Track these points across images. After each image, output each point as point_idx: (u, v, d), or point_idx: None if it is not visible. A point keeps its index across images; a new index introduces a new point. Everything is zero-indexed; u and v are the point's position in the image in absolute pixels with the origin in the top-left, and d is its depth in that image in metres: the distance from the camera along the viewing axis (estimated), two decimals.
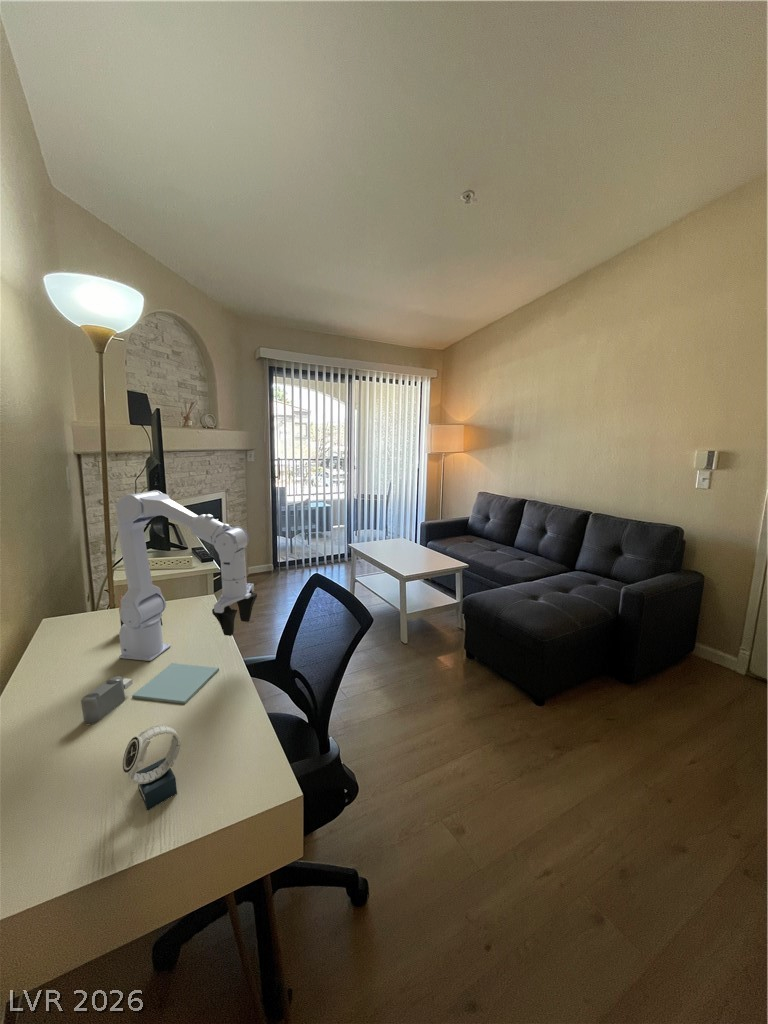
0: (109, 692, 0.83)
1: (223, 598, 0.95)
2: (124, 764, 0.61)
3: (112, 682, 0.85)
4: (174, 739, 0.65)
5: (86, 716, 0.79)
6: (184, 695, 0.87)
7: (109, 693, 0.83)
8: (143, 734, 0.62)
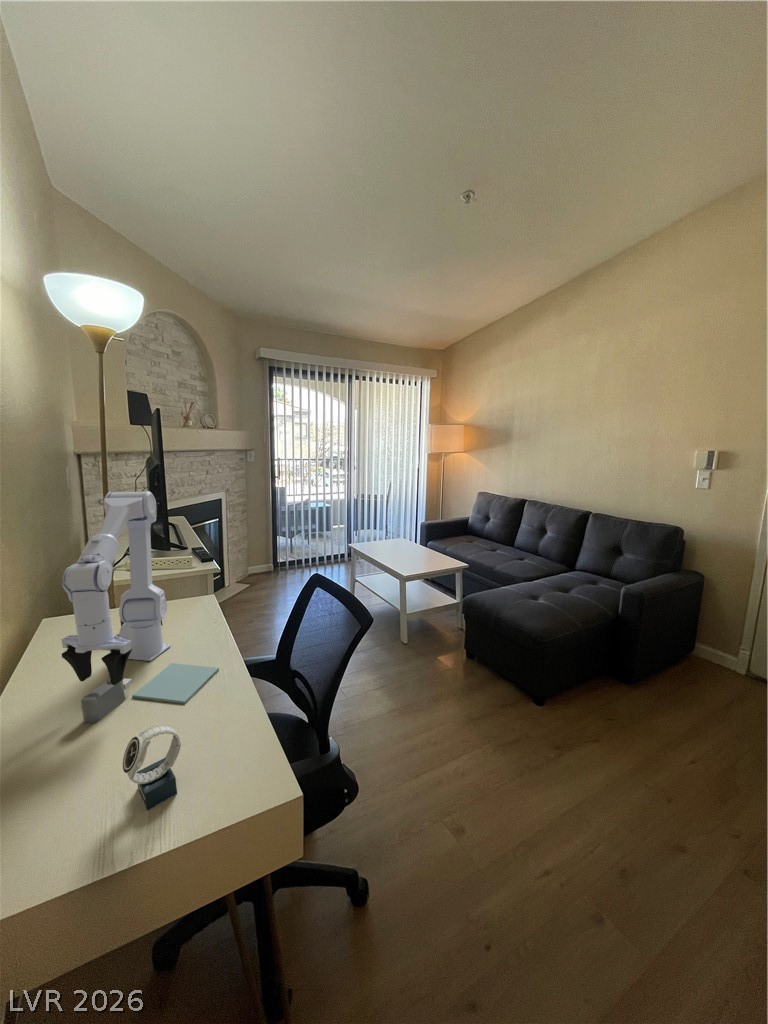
0: (109, 692, 0.83)
1: None
2: (124, 764, 0.61)
3: None
4: (174, 739, 0.65)
5: (86, 716, 0.79)
6: (184, 695, 0.87)
7: (109, 693, 0.83)
8: (143, 734, 0.62)
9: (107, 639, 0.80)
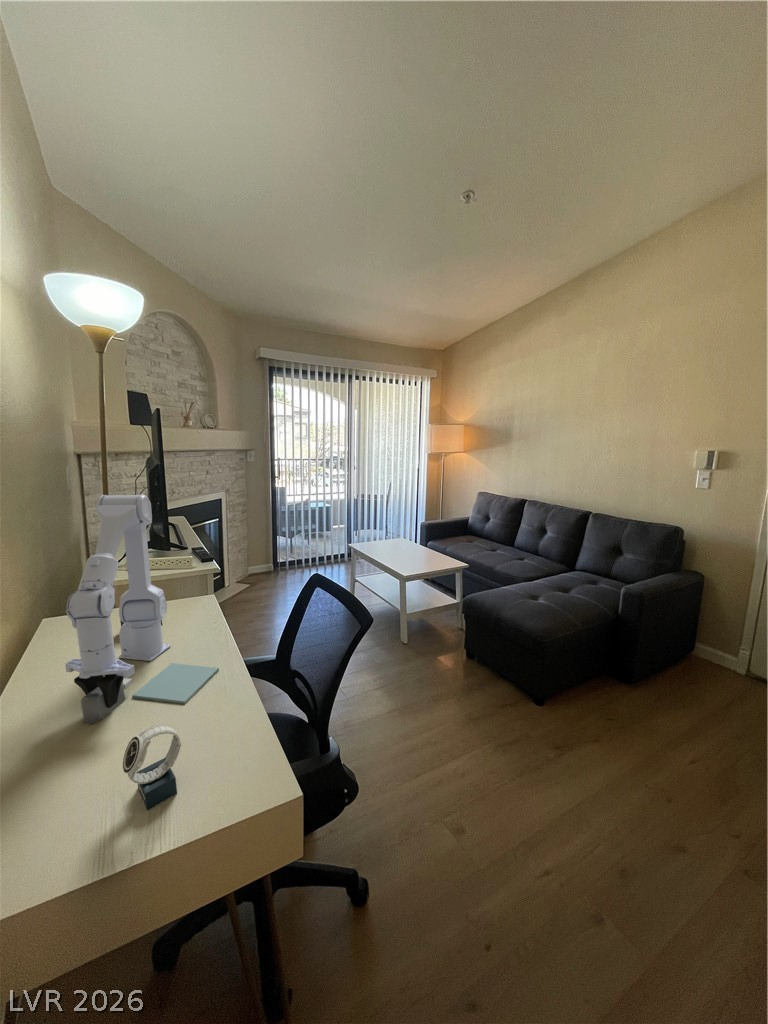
0: None
1: None
2: (124, 764, 0.61)
3: None
4: (174, 739, 0.65)
5: (86, 716, 0.79)
6: (184, 695, 0.87)
7: None
8: (143, 734, 0.62)
9: (110, 664, 0.81)
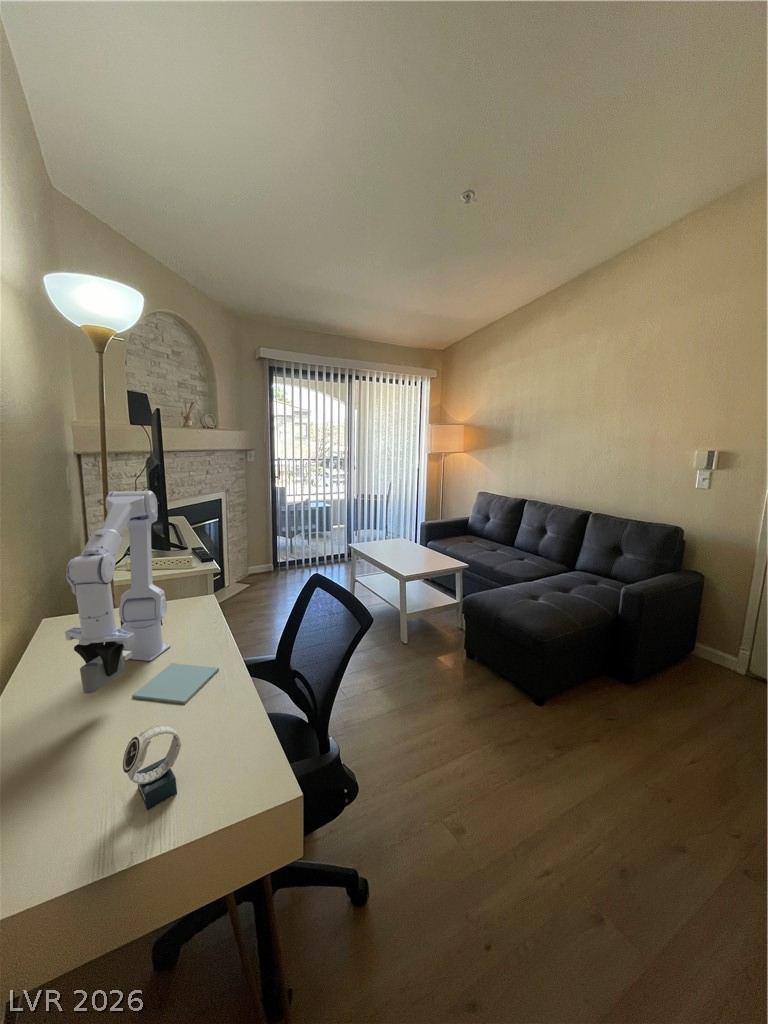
0: None
1: None
2: (124, 764, 0.61)
3: None
4: (174, 739, 0.65)
5: (85, 685, 0.78)
6: (184, 695, 0.87)
7: None
8: (143, 734, 0.62)
9: (110, 632, 0.80)
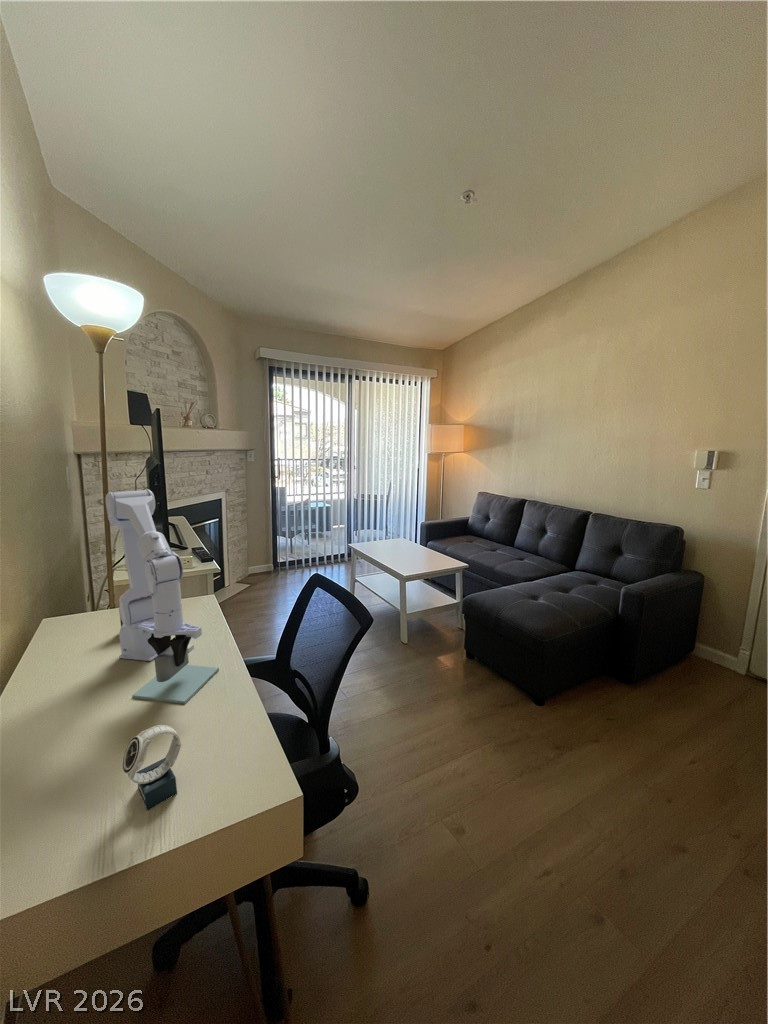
0: None
1: None
2: (124, 764, 0.61)
3: None
4: (174, 739, 0.65)
5: (159, 674, 0.86)
6: (184, 695, 0.87)
7: None
8: (143, 734, 0.62)
9: (180, 626, 0.89)
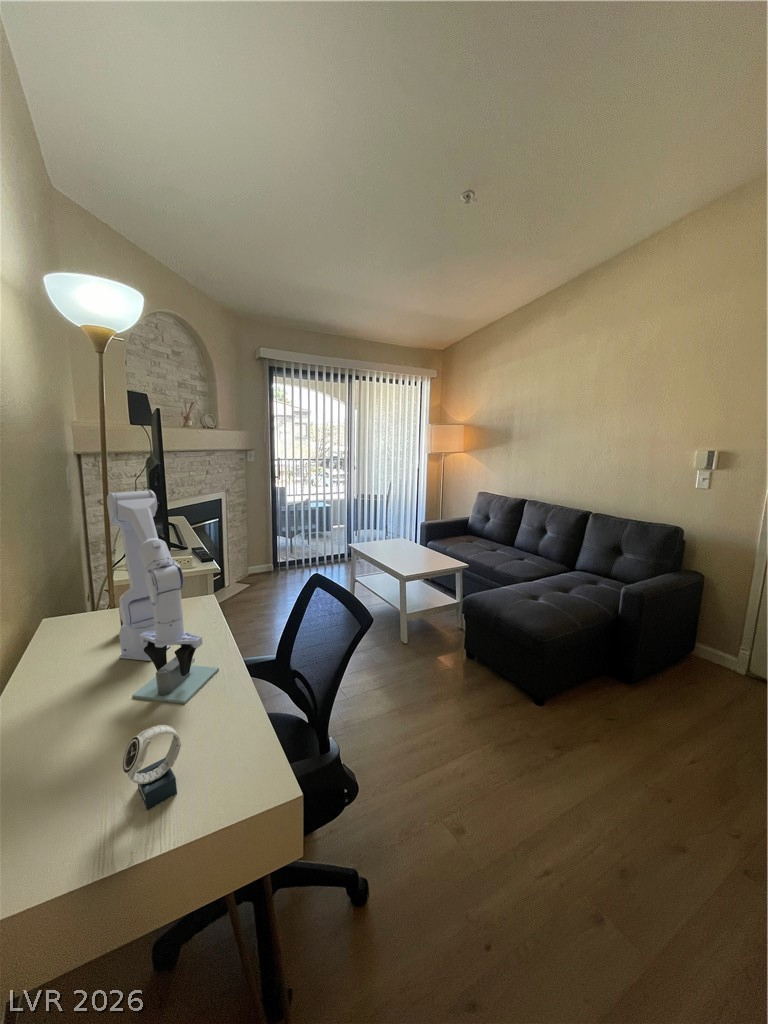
0: (178, 667, 0.91)
1: None
2: (124, 764, 0.61)
3: None
4: (174, 739, 0.65)
5: (160, 688, 0.87)
6: (184, 695, 0.87)
7: (178, 668, 0.91)
8: (143, 734, 0.62)
9: (181, 635, 0.89)
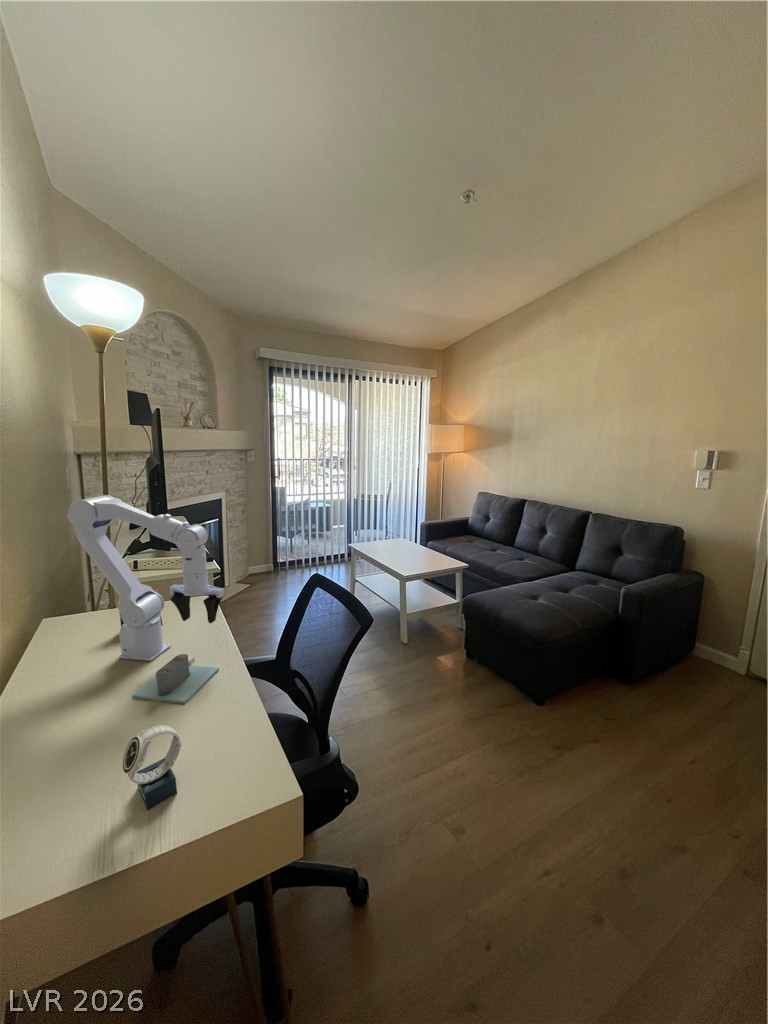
0: (178, 667, 0.91)
1: None
2: (124, 764, 0.61)
3: (179, 659, 0.93)
4: (174, 739, 0.65)
5: (160, 688, 0.87)
6: (184, 695, 0.87)
7: (178, 668, 0.91)
8: (143, 734, 0.62)
9: (205, 587, 1.02)
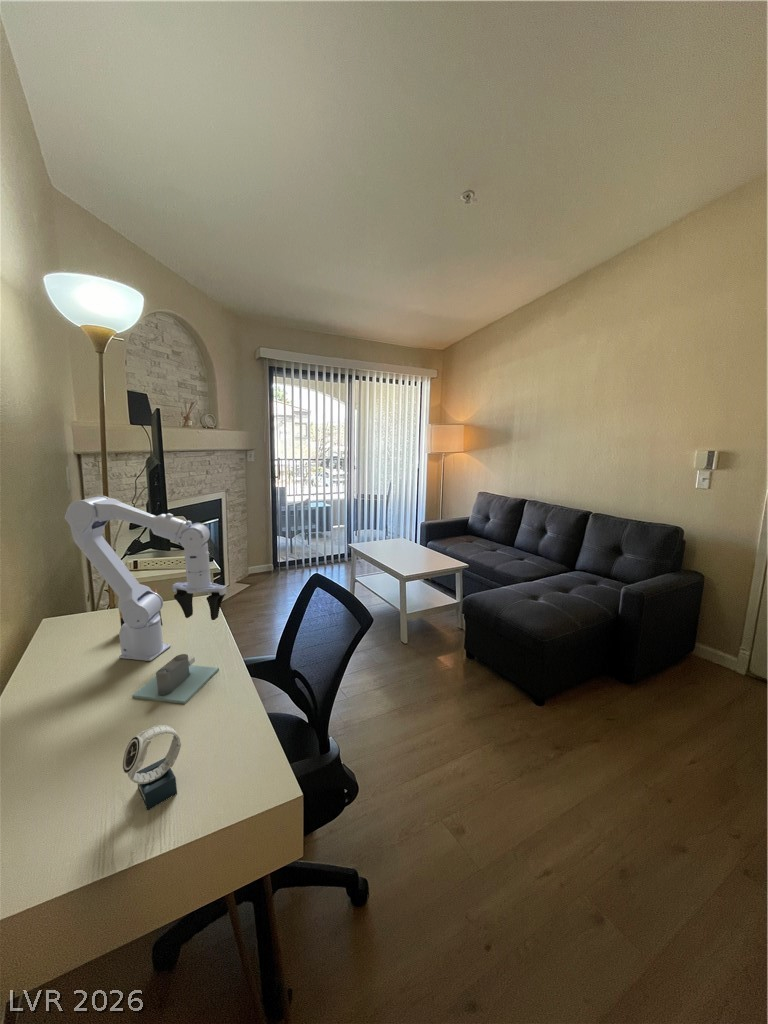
0: (178, 667, 0.91)
1: None
2: (124, 764, 0.61)
3: (179, 659, 0.93)
4: (174, 739, 0.65)
5: (160, 688, 0.87)
6: (184, 695, 0.87)
7: (178, 668, 0.91)
8: (143, 734, 0.62)
9: (208, 584, 1.04)
